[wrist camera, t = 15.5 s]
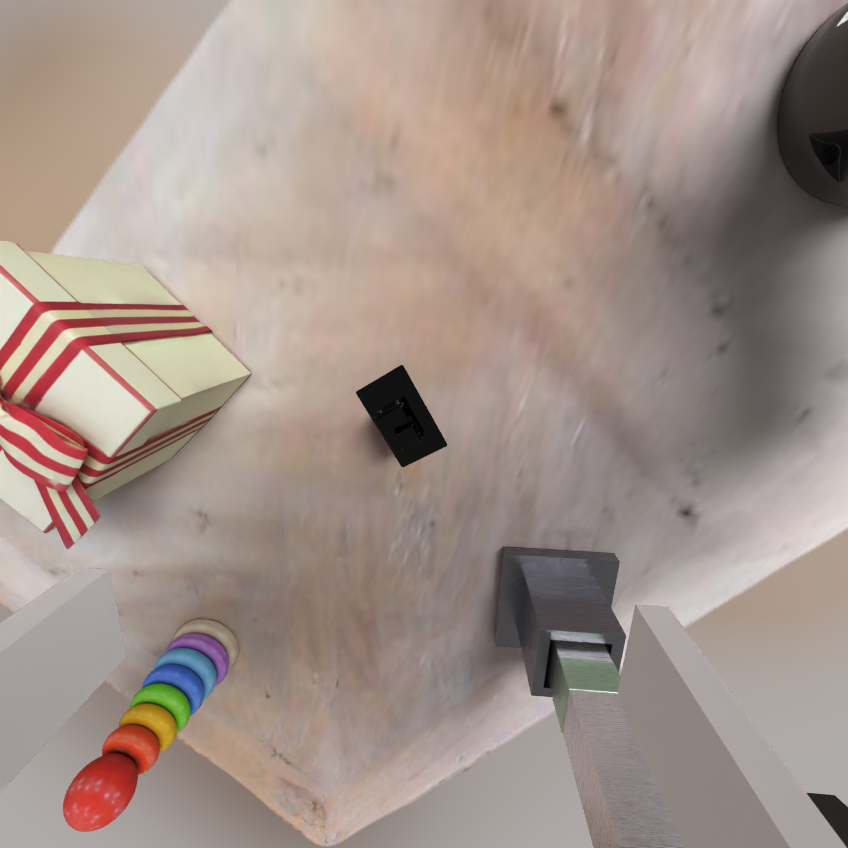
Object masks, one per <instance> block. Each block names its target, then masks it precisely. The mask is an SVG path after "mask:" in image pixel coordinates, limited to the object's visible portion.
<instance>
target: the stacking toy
mask: <svg viewBox="0 0 848 848" xmlns="http://www.w3.org/2000/svg"><path fill="white" fill-rule="evenodd" d="M238 653H239V647H238V642H237V640H236V638H235V636H234V635H233V633H232V632H231V631H230V630H229V629H228V628H227V627H225V626H224V625H222V624H220V623H218V622H216V621H213V620H208V619H197V620H193V621H190V622H188V623H186V624H184V625H183V626H182V627H181V628H180V629H179V630H178V631H177V632H176V634H175V636H174V638H173V641H172V642H171V644H170V645H169V646H168V648H167V650H166V652H165V654H164V655H162V656H161V657H160V658H159V659H158V661H157V662H156V664H155V666H154V669H153V671H152V672H151V673H150V674H149V675H148V676H147V677H146V679H145V681H144V683H143V687H142V689H141V690H140V691H139V692H138V693H137V694H136V695H135V696H134V698H133V700H132V702H131V705H130V709H129V710H128V711H127V712H126V713H125V714H124V716H123V717H122V718H121V720H120V723H119V728H118V729H116V730H115V731H113V732H112V733H111V734H110V735H109V736H108V738H107V739H106V741H105V743H104V745H103V749H102V755H103V756H101V757H99V758H97V759H95V760H94V761H92V762H91V763H89V764H88V765H87V766H86V767H84V768H83V769H82V770H81V771H80V772H79V773H78V775H77V776H76V777H75V778H74V780H73V781H72V783H71V785H70V786H69V788H68V790H67V793H66V795H65V798H64V804H63V812H64V817H65V820H66V822H67V823H68V825H70V827H72V828H73V829H75V830H78V831H82V832H89V831H93V830H97V829H100V828H102V827H104V826H106V825H108V824H109V823H111V822H112V821H113V820H114V819H116V818H117V817H118V816H119V815H120V814H121V813H122V812H123V810H124V809H125V808H126V807H127V805H128V803H129V802H130V800H131V799H132V796H133V794H134V792H135V789H136V785H137V779H138V775H139V774H142V773H144V772H146V771H147V770H149V769H150V768H151V767H152V766H153V765H154V763H155V762H156V760H157V758H158V755H159V753H160V752H162V751H164V750H166V749H167V748H168V747H169V746H170V745H171V743H173V741H174V739H175V737H176V734H177V733H178V732H179V731H180V730H181V729H183V728H184V726H185V725H186V724H187V722H188V720H189V717H190V715H192V714H193V713H195V712H196V711H197V710H198V709H199V707H200V706H201V704H202V702H203V699H205V698H206V697H207V696H208V695H209V694H210V693H211V692H212V690H213V688H214V686H216V685H218V684H219V683H220V682H221V681H222V680H223V679H224V678H225V676H226V674H227V672H228V670H229V669H230V668H231V667H232V666H233V665H234V664H235V662H236V660H237V657H238Z"/></svg>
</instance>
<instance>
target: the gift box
mask: <svg viewBox="0 0 848 848" xmlns="http://www.w3.org/2000/svg"><path fill="white" fill-rule="evenodd" d="M250 374H251V371H250V370H249V369H248V368H247V367H246V366H244V365H243V364H242V363H241V362H240V361H239V360H238V359H237V358H236V357H235V356H234V355H233V354H232V353H231V352H230V351H229V350H228V349H227V348H226V347H225V346H224V345H223V344H222V343H221V342H220V341H219V340H218V339H217V338H216V337H215V336H214V335H213V334H212V330H211V329H209V328H208V327H207V326H205V325H204V324H202V323H201V322H199V321H198V320H197V319H196V318H195V317H194V316H193V315H192V313H191V312H190V311H189V310H188V309H187V308H186V307H185V306H184V305H182V304H181V303H180V302H179V301H178V300H177V299H176V298H175V297H174V296H173V295H172V294H171V293H170V292H169V291H168V290H167V289H166V288H165V287H164V286H163V285H162V284H161V283H160V282H159V281H158V280H157V279H156V278H155V277H154V276H153V275H152V274H151V273H149V272H148V271H147V270H146V269H145V268H144V267H143V266H142V265H139V264H132V263H123V262H116V261H106V260H98V259H89V258H81V257H73V256H63V255H54V254H46V253H36V252H29V251H24V250H23V249H22V248H21V247H20V246H19V245H18V244H16V243H14V242H6V241H0V499H2V500H3V501H4V502H5V503H7V504H8V505H9V506H11V507H12V508H13V509H14V510H16V511H17V512H18V513H19V514H21V515H22V516H23V517H24V518H26V519H27V520H28V521H29V522H31V523H32V524H33V525H34V526H36V527H37V528H38V529H39V530H41V531H42V532H44V533H47V532H49V531H51V530H53V529H54V528H57V530H58V532H59V534H60V536H61V539H62V541H63V543H64V545H65V547H66V548H67V549H69V548H70V547H71V546H72V545H73V544H75V542H76V541H77V540H78V539H79V538H81V537H82V536H83V535H84V533H85V532H86V531H87V530H88V529H90V528H91V527H92V526H93V525H94V524H95V522H96V521H97V520H98V518H99V517H100V514H99V511H98V509H97V508H96V506H95V504H94V503H93V502H94V501H96V500H97V499H99V498H101V497H103V496H104V495H106V494H108V493H110V492H111V491H113V490H115V489H117V488H119V487H120V486H122V485H124V484H126V483H128V482H130V481H131V480H133V479H135V478H137V477H139V476H140V475H142V474H144V473H146V472H148V471H149V470H151V469H153V468H155V467H157V466H159V465H161V464H163V463H164V462H166V461H168V460H170V459H171V458H172V457H173V456H174V455H175V454H176V453H177V452H178V451H179V450H180V449H181V448H182V447H183V446H184V445H185V444H186V443H187V442H188V441H189V440H190V439H191V438H192V437H193V436H194V434H195V433H196V432H197V431H198V430H199V429H200V428H202V427H203V426H204V425H205V424H206V423H207V422H208V421H209V420H210V419H211V418H212V417H213V415H214V414H215V413H216V412H217V411H218V410H219V409H220V408H221V406H222V405H223V404H224V403H225V402H226V401H227V400H228V399H229V398H230V396H231V395H232V394H233V393H234V392H235V391H236V390H237V389H238V388H239V387H240V386H241V385H242V383H243V382H244V381H245V380H246V379H247V378H248V377H249V376H250Z"/></svg>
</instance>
